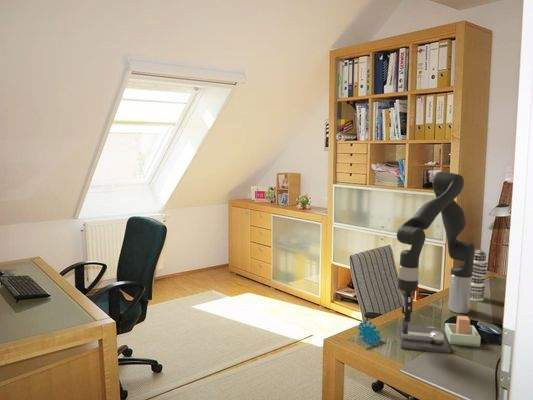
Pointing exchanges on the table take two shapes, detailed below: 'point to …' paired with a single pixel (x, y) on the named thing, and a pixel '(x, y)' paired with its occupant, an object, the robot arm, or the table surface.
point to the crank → (422, 334)
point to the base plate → (421, 344)
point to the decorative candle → (478, 276)
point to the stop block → (462, 325)
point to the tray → (462, 336)
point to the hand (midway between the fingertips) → (405, 317)
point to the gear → (369, 333)
